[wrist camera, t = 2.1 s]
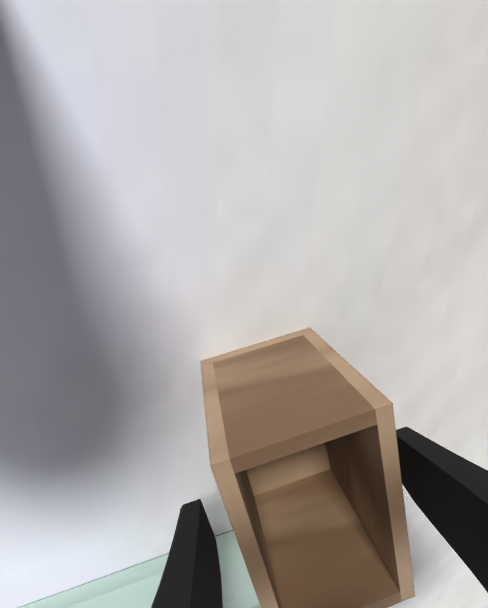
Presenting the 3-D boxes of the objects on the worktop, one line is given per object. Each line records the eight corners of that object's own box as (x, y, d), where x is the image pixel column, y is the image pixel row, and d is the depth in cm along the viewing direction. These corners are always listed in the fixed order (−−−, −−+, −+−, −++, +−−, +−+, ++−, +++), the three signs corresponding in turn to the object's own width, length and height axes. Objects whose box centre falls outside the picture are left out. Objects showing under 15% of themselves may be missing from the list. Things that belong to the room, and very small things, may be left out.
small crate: (335, 464, 16) (414, 596, 11) (244, 496, 16) (276, 652, 10) (308, 326, 14) (392, 403, 8) (200, 360, 14) (209, 465, 8)
